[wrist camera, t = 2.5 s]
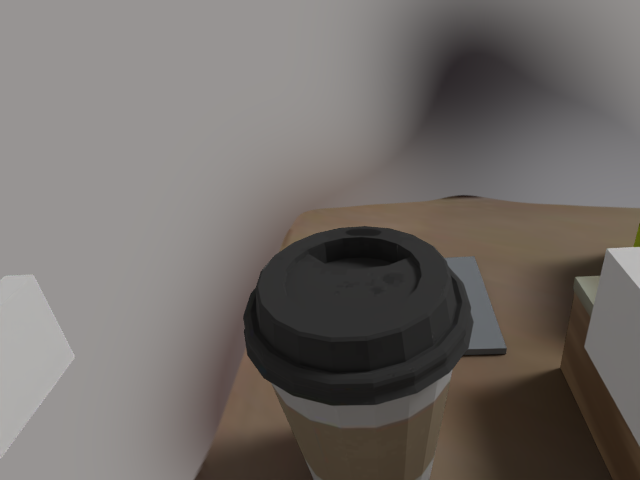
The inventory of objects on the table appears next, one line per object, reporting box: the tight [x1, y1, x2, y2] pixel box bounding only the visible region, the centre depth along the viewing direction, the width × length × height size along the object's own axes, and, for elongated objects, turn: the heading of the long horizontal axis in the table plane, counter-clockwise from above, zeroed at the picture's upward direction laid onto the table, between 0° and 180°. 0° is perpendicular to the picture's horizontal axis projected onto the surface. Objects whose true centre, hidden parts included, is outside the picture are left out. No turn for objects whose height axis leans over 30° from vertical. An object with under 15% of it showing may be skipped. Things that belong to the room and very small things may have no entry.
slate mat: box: [444, 256, 507, 355], centre depth 43 cm, size 13×13×1 cm
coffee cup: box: [243, 226, 474, 480], centre depth 26 cm, size 11×11×15 cm
